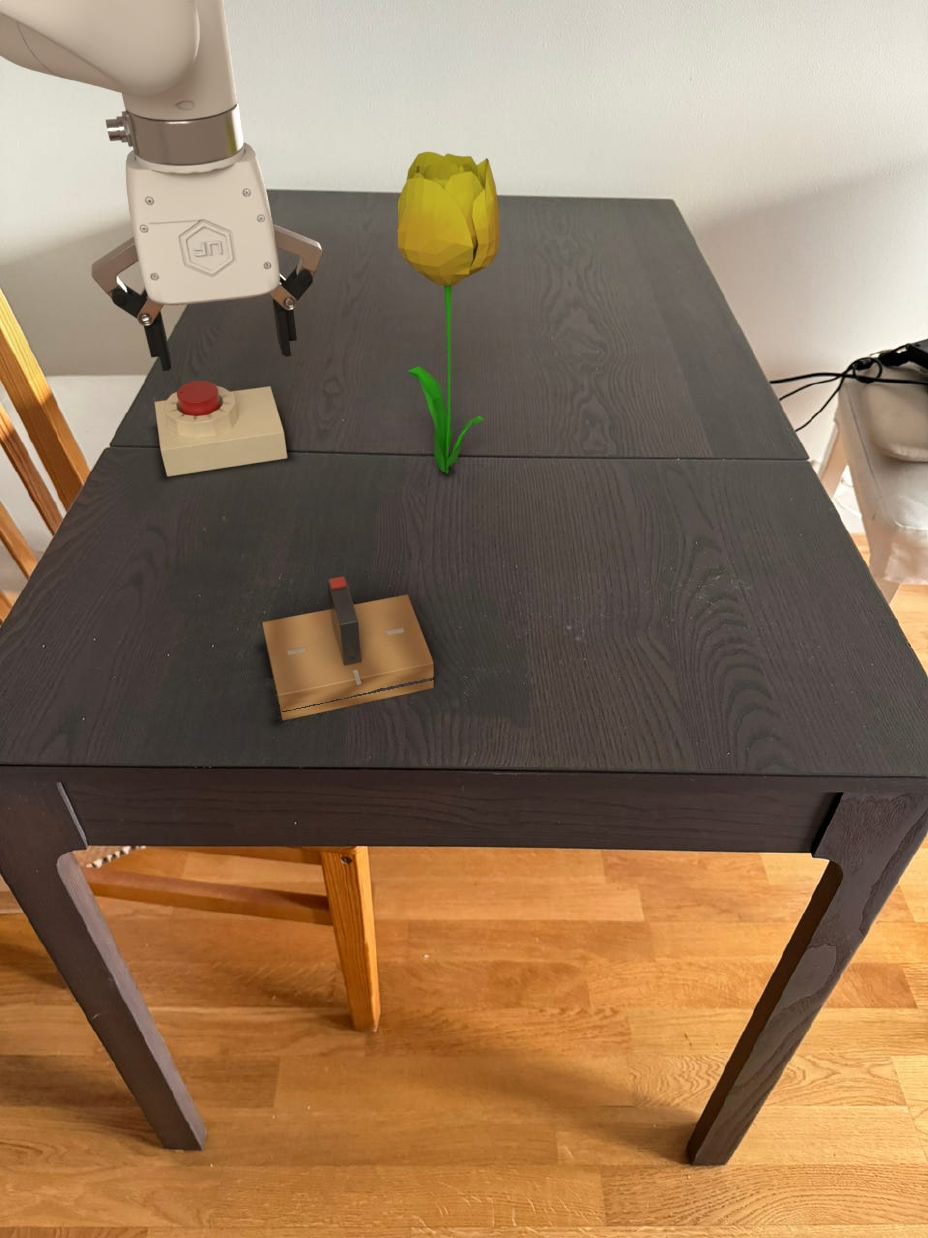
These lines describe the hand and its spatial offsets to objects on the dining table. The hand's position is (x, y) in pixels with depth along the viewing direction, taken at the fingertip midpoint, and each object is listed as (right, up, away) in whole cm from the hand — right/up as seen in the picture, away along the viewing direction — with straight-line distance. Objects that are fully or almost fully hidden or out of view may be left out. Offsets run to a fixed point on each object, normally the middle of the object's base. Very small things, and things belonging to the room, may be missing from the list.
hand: (226, 355), depth 77 cm
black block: (+10, -24, -4) cm, 26 cm away
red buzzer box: (-5, -3, +20) cm, 21 cm away
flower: (+18, -7, +17) cm, 26 cm away
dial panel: (+10, -26, -2) cm, 28 cm away
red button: (-7, 0, +16) cm, 18 cm away
